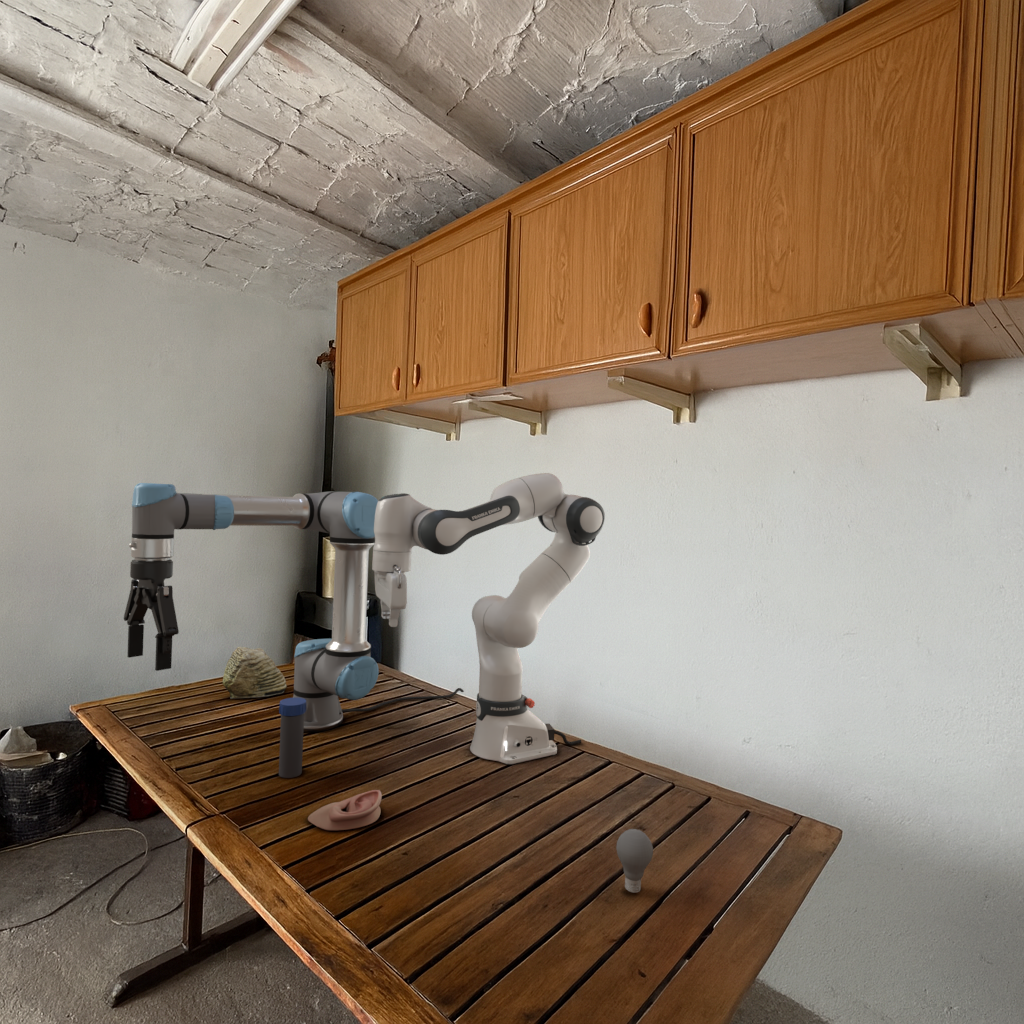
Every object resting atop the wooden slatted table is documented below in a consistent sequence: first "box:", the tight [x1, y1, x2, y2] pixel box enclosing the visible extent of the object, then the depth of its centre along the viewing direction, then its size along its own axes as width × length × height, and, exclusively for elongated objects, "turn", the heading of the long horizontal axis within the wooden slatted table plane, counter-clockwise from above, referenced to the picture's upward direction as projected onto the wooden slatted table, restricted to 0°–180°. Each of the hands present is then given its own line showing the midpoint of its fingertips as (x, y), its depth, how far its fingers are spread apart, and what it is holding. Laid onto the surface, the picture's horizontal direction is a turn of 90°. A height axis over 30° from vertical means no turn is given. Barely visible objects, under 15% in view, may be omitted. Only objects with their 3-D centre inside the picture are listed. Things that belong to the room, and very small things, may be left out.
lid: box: [278, 697, 307, 716], centre depth 144 cm, size 6×6×2 cm
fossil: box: [222, 646, 288, 699], centre depth 198 cm, size 9×18×15 cm, turn 132°
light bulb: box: [615, 828, 654, 894], centre depth 106 cm, size 6×6×10 cm
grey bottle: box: [278, 714, 304, 779], centre depth 144 cm, size 5×5×16 cm
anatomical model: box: [307, 789, 383, 831], centre depth 126 cm, size 13×4×12 cm
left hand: (148, 662), depth 129 cm, fingers open, 13 cm apart
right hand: (389, 622), depth 147 cm, fingers open, 8 cm apart
